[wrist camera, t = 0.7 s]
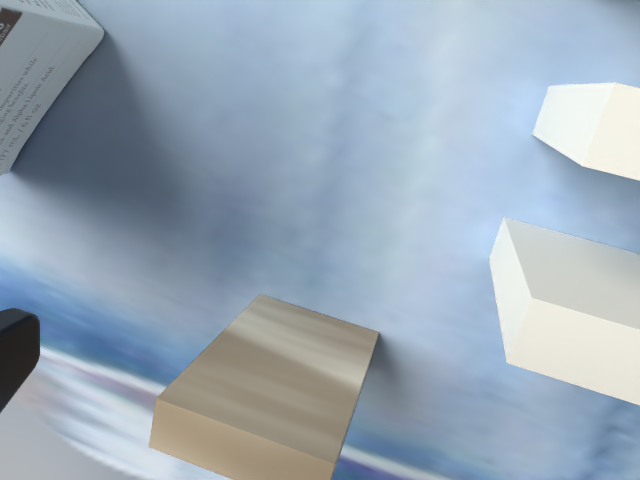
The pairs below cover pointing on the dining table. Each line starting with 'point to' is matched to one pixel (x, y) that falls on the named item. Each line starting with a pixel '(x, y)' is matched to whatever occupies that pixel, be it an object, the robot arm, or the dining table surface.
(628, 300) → the domino
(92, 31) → the skincare box
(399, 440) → the dining table surface
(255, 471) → the domino
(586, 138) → the domino
